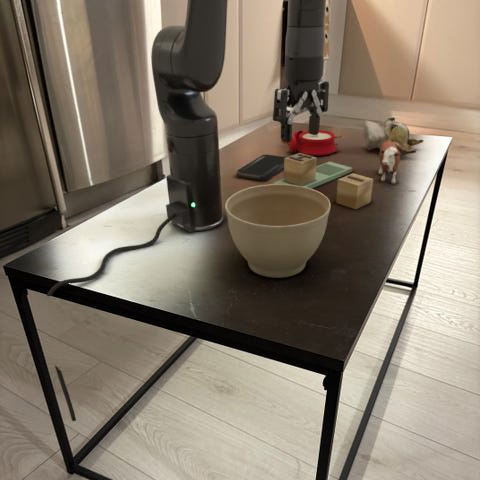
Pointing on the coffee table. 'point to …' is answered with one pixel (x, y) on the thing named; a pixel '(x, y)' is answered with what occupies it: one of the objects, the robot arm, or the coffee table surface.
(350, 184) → the slotted coin box
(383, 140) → the ceramic sculpture
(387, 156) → the bull figurine
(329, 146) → the alarm clock
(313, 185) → the word board
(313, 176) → the light wooden block
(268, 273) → the planter bowl
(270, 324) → the coffee table surface
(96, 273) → the robot arm
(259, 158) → the phone
